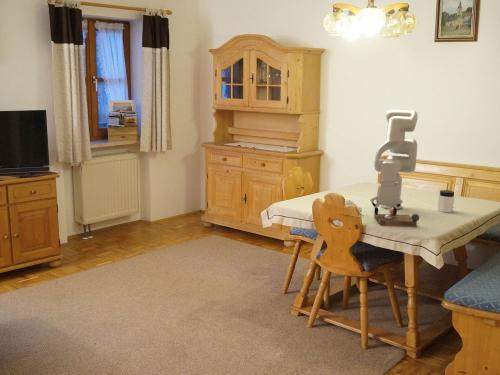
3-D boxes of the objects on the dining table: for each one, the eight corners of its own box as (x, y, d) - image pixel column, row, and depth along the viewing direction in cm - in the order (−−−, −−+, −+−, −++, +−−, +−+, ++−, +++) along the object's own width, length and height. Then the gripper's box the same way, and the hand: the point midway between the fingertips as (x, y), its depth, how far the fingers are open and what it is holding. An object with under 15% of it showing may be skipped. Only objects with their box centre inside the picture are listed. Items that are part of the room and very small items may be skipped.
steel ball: (382, 218, 308) (388, 215, 309) (385, 224, 306) (392, 221, 307) (383, 214, 305) (390, 212, 305) (386, 221, 303) (393, 218, 303)
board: (374, 218, 314) (374, 213, 313) (408, 219, 314) (408, 214, 314) (380, 225, 298) (381, 220, 298) (416, 226, 298) (416, 222, 298)
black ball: (410, 220, 301) (410, 212, 301) (417, 220, 301) (418, 213, 301) (412, 222, 297) (413, 214, 297) (419, 222, 297) (420, 214, 297)
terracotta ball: (388, 213, 314) (389, 206, 313) (395, 214, 314) (396, 207, 313) (390, 215, 310) (390, 208, 309) (397, 215, 310) (398, 208, 309)
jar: (449, 213, 332) (451, 193, 330) (436, 211, 337) (437, 191, 334) (454, 210, 339) (456, 191, 337) (440, 208, 344) (442, 189, 341)
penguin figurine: (343, 196, 325) (364, 200, 323) (340, 210, 327) (361, 214, 324) (341, 198, 319) (363, 202, 317) (339, 213, 321) (360, 217, 318)
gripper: (402, 183, 306) (399, 213, 309) (370, 182, 306) (367, 212, 309) (405, 185, 299) (403, 217, 302) (373, 184, 298) (370, 216, 302)
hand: (385, 215), depth 305 cm, fingers open, 9 cm apart
